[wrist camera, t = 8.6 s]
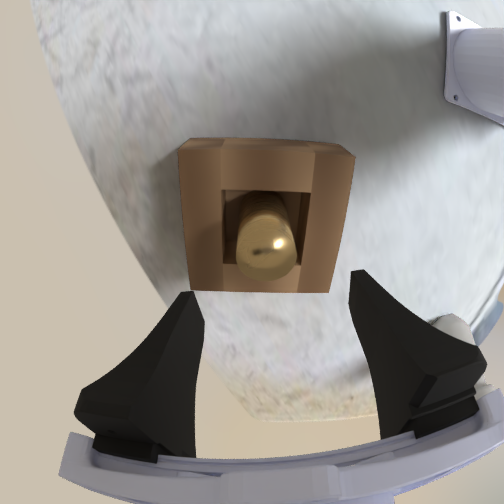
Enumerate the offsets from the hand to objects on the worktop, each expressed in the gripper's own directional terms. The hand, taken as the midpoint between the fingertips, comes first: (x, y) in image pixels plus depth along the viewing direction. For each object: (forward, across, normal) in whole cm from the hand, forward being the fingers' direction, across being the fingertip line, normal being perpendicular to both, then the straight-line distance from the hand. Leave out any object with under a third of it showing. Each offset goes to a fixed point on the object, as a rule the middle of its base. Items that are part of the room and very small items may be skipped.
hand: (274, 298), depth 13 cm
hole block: (+9, 0, 0) cm, 9 cm away
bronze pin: (+9, 0, 0) cm, 9 cm away
